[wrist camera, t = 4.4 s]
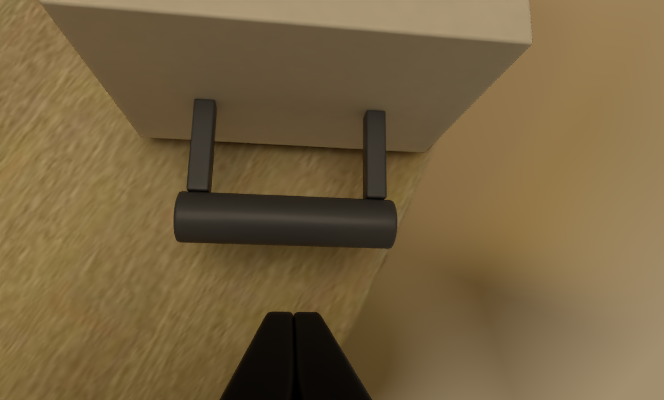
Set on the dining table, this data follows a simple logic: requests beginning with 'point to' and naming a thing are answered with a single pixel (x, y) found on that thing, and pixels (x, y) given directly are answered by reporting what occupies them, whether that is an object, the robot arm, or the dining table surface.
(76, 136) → the dining table surface
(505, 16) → the drawer
